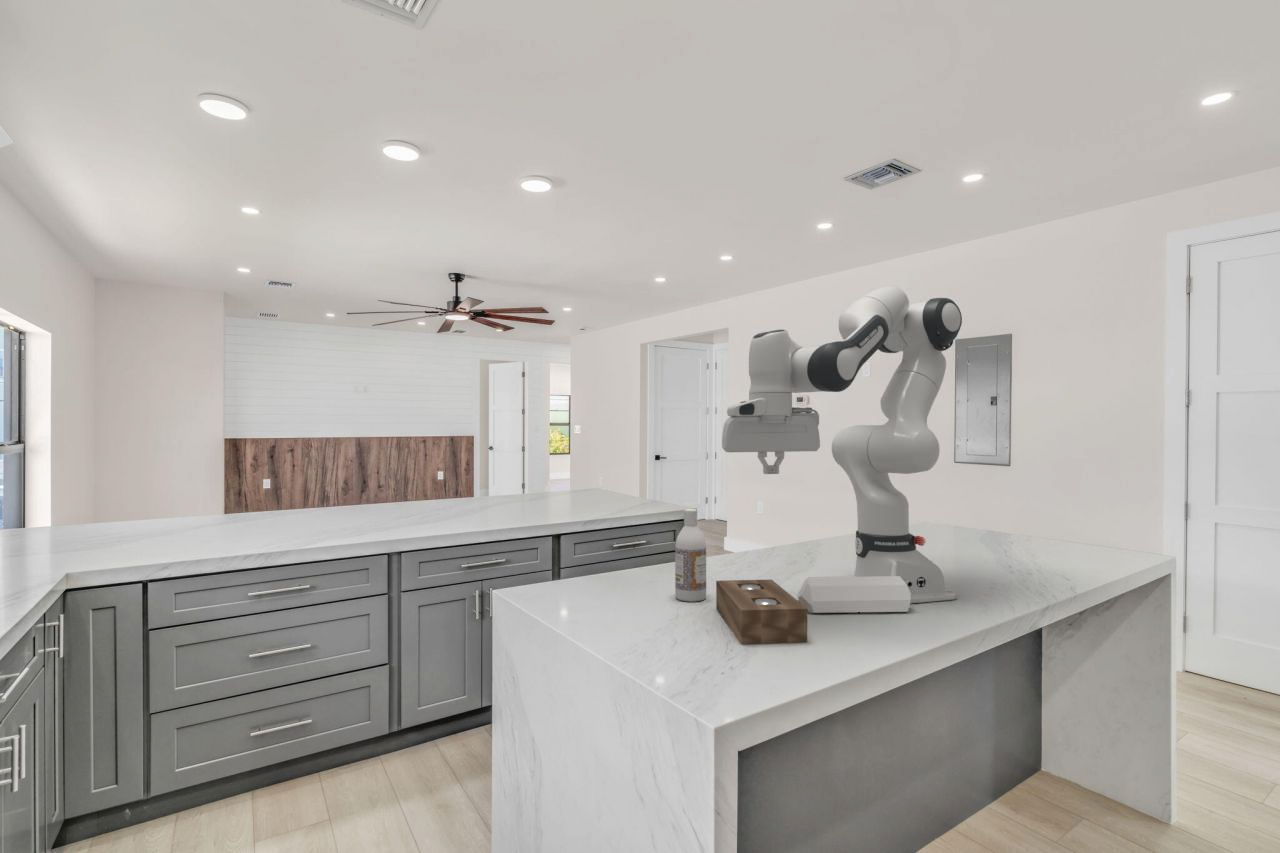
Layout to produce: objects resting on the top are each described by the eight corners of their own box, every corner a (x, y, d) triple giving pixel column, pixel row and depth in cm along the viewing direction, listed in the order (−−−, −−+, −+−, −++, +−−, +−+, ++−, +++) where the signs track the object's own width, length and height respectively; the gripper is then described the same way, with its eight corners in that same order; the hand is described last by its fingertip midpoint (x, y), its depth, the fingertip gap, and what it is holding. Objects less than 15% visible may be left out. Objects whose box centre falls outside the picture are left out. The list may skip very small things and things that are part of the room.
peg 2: (773, 628, 120) (773, 598, 120) (779, 635, 116) (779, 604, 116) (752, 628, 120) (752, 598, 120) (758, 635, 116) (758, 604, 116)
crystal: (806, 599, 127) (922, 598, 128) (797, 574, 134) (908, 573, 134) (800, 625, 131) (914, 624, 132) (792, 600, 137) (900, 599, 138)
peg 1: (757, 611, 131) (757, 584, 131) (763, 617, 127) (763, 589, 127) (738, 612, 131) (738, 584, 131) (743, 617, 127) (743, 589, 127)
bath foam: (692, 604, 137) (691, 512, 138) (669, 598, 142) (668, 509, 143) (712, 598, 142) (712, 509, 142) (689, 592, 147) (689, 507, 147)
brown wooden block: (771, 607, 135) (771, 579, 135) (807, 642, 113) (807, 608, 113) (716, 609, 134) (716, 580, 134) (741, 644, 112) (741, 610, 112)
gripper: (813, 407, 136) (814, 472, 136) (719, 408, 134) (720, 473, 134) (824, 406, 129) (825, 474, 129) (726, 407, 128) (727, 475, 128)
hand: (771, 473), depth 132 cm, fingers closed
